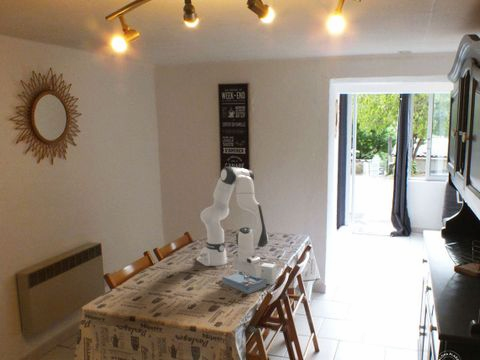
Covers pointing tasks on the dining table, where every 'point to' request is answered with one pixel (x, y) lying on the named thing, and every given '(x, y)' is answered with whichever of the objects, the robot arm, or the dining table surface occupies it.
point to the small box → (268, 273)
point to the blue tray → (244, 282)
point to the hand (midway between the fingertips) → (246, 279)
